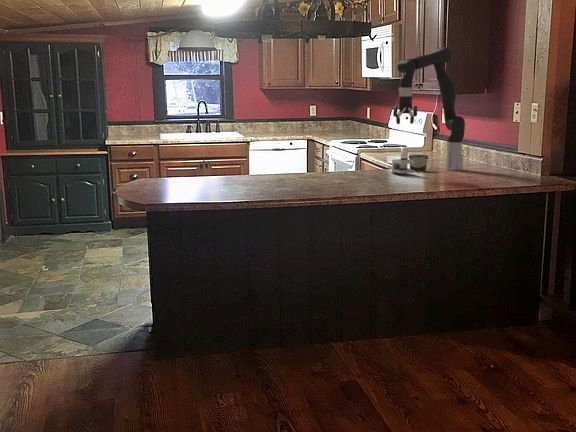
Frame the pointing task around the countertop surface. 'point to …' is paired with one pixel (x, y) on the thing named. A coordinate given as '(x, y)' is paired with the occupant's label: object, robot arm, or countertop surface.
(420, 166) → the food container
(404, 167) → the tube
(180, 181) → the countertop surface
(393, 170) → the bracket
